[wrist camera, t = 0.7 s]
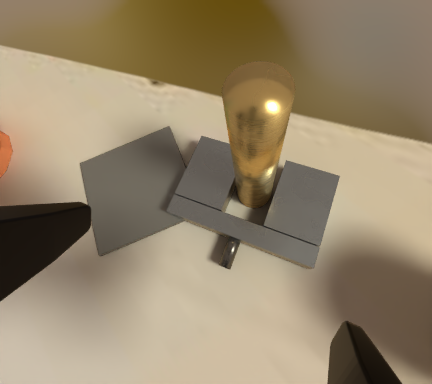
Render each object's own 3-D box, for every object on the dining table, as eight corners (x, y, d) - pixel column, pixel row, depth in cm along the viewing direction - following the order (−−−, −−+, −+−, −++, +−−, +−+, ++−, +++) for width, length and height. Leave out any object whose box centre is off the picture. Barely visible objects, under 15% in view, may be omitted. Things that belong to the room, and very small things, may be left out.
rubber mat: (101, 255, 22) (98, 255, 22) (82, 165, 26) (79, 163, 25) (203, 213, 22) (202, 212, 22) (170, 128, 26) (169, 126, 25)
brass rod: (245, 213, 22) (238, 131, 10) (232, 184, 23) (211, 77, 11) (276, 200, 22) (309, 101, 10) (262, 171, 23) (274, 51, 11)
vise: (299, 299, 19) (304, 301, 17) (161, 240, 22) (153, 237, 20) (332, 183, 22) (339, 175, 20) (205, 145, 25) (201, 135, 23)
